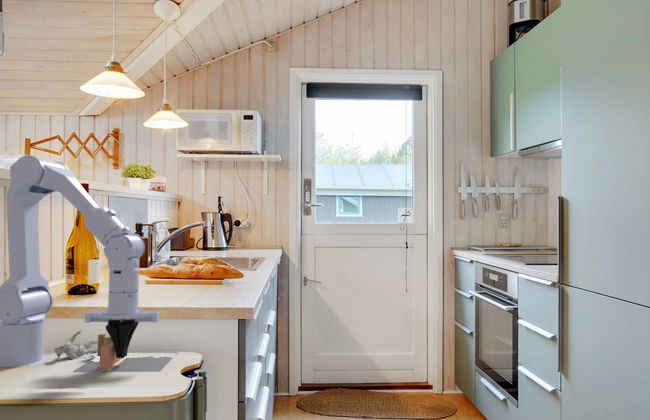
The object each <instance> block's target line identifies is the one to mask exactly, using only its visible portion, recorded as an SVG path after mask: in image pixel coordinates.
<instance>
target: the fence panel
mask: <svg viewBox="0 0 650 420" xmlns="http://www.w3.org/2000/svg"><path fill="white" fill-rule="evenodd" d="M121 359H122V358H116V352H115V348H114V345H113V343H112V344H110V345H103V346H101V354H100V370H108V369H109V368H110V367H111V366H112V365H114V364H115V363H116V362H118V361H119V360H121Z"/></svg>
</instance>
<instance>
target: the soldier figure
mask: <svg viewBox="0 0 650 420" xmlns="http://www.w3.org/2000/svg"><path fill="white" fill-rule="evenodd" d="M81 332H83V329H81V330H78V331H76V332H75V333H74V334H72V336H71V337H70V338H69V339H68V341H67V342H66V343H65V344H63V346H62V345H61V346H59V347H55V348H54V352H55V355H56V357H57V358H58V360H59V359H60V357H61V356H62V355H63V354H65V355H66V357H68V358H69V359H71V360H76V359H77V360H78V359H88V358H87V357H92V358H94V356H95V355H94V354H95V353H98V346H96V347H93V348H90V347H91V346H92V345H96V344H97V345H98V339H93V338H92V339H90V340H88V341H86V342H85V343H84V344H83V345H81V344H79V343H75V344H73V343H74V342H75V339H76V338H77V336H79V335H82V333H81ZM88 353H92V354H90V355H89V354H88ZM84 354H85V355H87V356H85V355H84ZM88 355H89V356H88ZM83 356H84V357H83Z"/></svg>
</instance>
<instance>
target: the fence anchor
mask: <svg viewBox="0 0 650 420" xmlns="http://www.w3.org/2000/svg"><path fill="white" fill-rule="evenodd" d="M97 340H98V343H97V348H98V352H97V354H96V356H100V354H101V346H103V345H110V344H112V343H113V342H112V339H111V337H110V336H107V333H99V334H98V336H97ZM127 352H128V350H127ZM126 356H127V355H126Z"/></svg>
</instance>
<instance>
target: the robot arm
mask: <svg viewBox="0 0 650 420" xmlns="http://www.w3.org/2000/svg"><path fill="white" fill-rule="evenodd" d="M9 174H10V175H9V178H10V182H9V186H8V189H7V191H6V196H5V197H6V200H5V201H6V224H7V246H8V247H7V248H8V250H7V251H8V268H9V269H8V272H9V273H8V274H9V277H8V278H7V279H6V280H5V281H4V282H3V283H2V284H1V285H0V367H33V366H35V365H37V364H38V363H40V362H43V361H44V360H47V359H48V358H50V357H51V356H52V355H49V354H45V355H44V353H43V352H44V338H45V337H44V336H45V335H44V334H45V319H46V318H47V314H48V313H49V312H50V311H51V309H52V308H53V305H54V296H53V294H52V292H51V290H50V287H49V281H48V280H47V279H46V278H45V277H44V276H43V275H42V274H41V264H40V262H41V261H40V240H39V238H40V237H39V219H38V203H39V202H40V201H42V200H43V199H44V198H45V197H47V196H49V195H51V194H53V193H55V192H57V193H60V194H61V195H62V196H63V197H64V198H65V199H66V200H67V201H68V203H70V204H71V205H72V206H73V207H74V208H75V209H76V210H77V211H79V213H80V214H81V215H82V216H84V226H85V228H86V229H88V231H89V232H90V233H91V234H92V235H93V236H94V238H96V240H98V242H99V243H100V244H101V245H102V246H103V253H104V256H105V258H106V259H107V261H108V268H109V271H108V272H109V275H108V297H107V298H108V301H107V302H108V303H107V305H108V306H107V310H101V311H88V312H86V313H84V314H85V315H84V323H85V324H86V323H90V324H91V323H107V325H105V330H106V332H107V334H108V335H109V337H111V339H112V342H113V345H114V348H115V352H116V358H124V357H125V356H126V355H127V350H128V349H129V346H130V343H131V339H132V337H133V335H134V333H135V331H136V329H137V327H138V326H139V324H140V323H146V322H147V323H149V322H150V323H158V322H159V321H160V314H161V313H160V311H151V310H150V311H149V310H139V285H140V284H139V283H140V282H139V281H140V258H141V257H142V256H143V255H144V253H145V248H146V245H145V242H144V240H143V239H142V237H141V235H139V234H138V233H133V232H132V233H131V232H130V231H131V229H130V227H128V226H125V225H124V224H123V223H122V222H121V221H120V220H119V218H117V216H116V215H117V212H116V211H115V210H114V209H109V208H108V207H104V206H103V207H100V206H99V205H98V204H97V203H96V202H95V200H94V198H92V196H91V195H90V194H89V193H88V192H87V191H86V189H85V188H84V187H83V186H82V184H81V183H80V181H78V179H77V178H76V176H75V173H74V171H72V170H71V169H69V168H68V166H67V165H66V164H65V163H63V162H61V161H54V160H49V159H44V158H40V157H37V156H35V155H29V154H27V155H23V156H21V157H20V158H18V159H17V160H16V161H15V162H14V163H12V164H11V166H10V167H9Z"/></svg>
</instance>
